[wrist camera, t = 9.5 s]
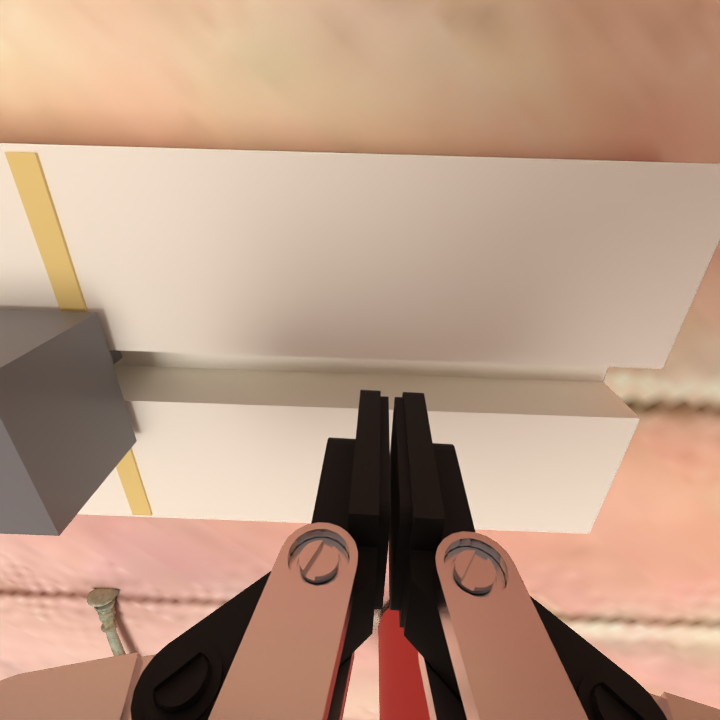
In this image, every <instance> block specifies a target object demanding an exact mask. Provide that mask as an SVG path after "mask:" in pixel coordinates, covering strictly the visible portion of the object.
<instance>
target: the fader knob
mask: <svg viewBox="0 0 720 720" xmlns="http://www.w3.org/2000/svg"><path fill="white" fill-rule="evenodd" d="M121 358H123V357H122V354H121V351H116V350H109V349H108V346H107V343H106V339H105V336H104V333H103V330H102V326H101V323H100V320H99V317H98V313H97V312H69V311H38V310H8V309H0V533H3V534H29V535H55V536H59V535H60V534H61V533H62V532H63V530H64V529H65V528H66V527H67V526H68V524H69V523H70V522H71V521H72V519H73V518H74V517H75V516H76V515H77V513H78V512H79V511H80V510H81V508H82V507H83V506H84V505H85V504H86V502H87V501H88V500H89V499H90V498H91V496H92V495H93V494H94V493H95V491H96V490H97V489H98V488H99V487H100V485H101V484H102V483H103V482H104V480H105V479H106V478H107V477H108V476H109V474H110V473H111V472H112V471H113V469H114V468H115V467H116V466H117V465H118V463H119V462H120V461H121V460H122V459H123V457H124V456H125V455H126V454H127V452H128V451H129V450H130V449H131V448H132V446H133V445H134V444H135V443H136V441H137V440H136V437H135V434H134V430H133V427H132V424H131V421H130V417H129V414H128V411H127V408H126V404H125V401H124V398H123V395H122V391H121V388H120V385H119V382H118V378H117V375H116V372H115V369H114V364H115V363H116V362H118V361H119V360H120V359H121Z"/></svg>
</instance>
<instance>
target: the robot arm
mask: <svg viewBox="0 0 720 720" xmlns="http://www.w3.org/2000/svg"><path fill="white" fill-rule="evenodd" d="M388 542H389V597H390V610H397V611H399V627H402V628H404V636H405V637H406V638H407V640H408V641H409V642H410V643H411V644H412V645H413V646H414V647H415V649H416V650H417V651H418V657H419V665H420V670H421V675H422V680H423V686H424V691H425V696H426V701H427V706H428V711H429V716H430V720H720V710H719V709H716V708H713V707H710V706H707V705H704V704H700V703H697V702H694V701H691V700H688V699H685V698H682V697H679V696H676V695H673V694H669V693H666V692H664V693H663V694H662V695H661V696H660V697H659V696H656V695H653V694H650V693H648V692H647V691H646V690H645V689H644V688H643V687H642V686H641V685H640V684H639V683H638V682H637V681H636V680H635V679H633V678H632V677H631V676H630V675H628V674H627V673H626V672H625V671H623V670H622V669H621V668H620V667H618V666H617V665H616V664H615V663H613V662H612V661H611V660H610V659H608V658H607V657H606V656H605V655H603V654H602V653H601V652H600V651H598V650H597V649H596V648H595V647H593V646H592V645H591V644H590V643H588V642H587V641H586V640H585V639H583V638H582V637H581V636H580V635H578V634H577V633H576V632H575V631H573V630H572V629H571V628H570V627H568V626H567V625H566V624H565V623H563V622H562V621H561V620H560V619H558V618H557V617H556V616H555V615H553V614H552V613H551V612H550V611H548V610H547V609H546V608H545V607H543V606H542V605H541V604H540V603H538V602H537V601H536V600H535V599H533V598H532V597H531V596H530V595H529V593H528V591H527V589H526V587H525V585H524V583H523V581H522V579H521V577H520V574H519V572H518V570H517V568H516V566H515V564H514V562H513V561H512V559H511V557H510V556H509V554H508V553H507V552H506V551H505V550H504V549H503V548H502V547H501V546H500V545H499V544H498V543H497V542H495V541H493V540H492V539H490V538H488V537H487V536H484V535H481V534H478V533H475V529H474V524H473V520H472V516H471V512H470V508H469V504H468V500H467V495H466V491H465V487H464V483H463V479H462V475H461V471H460V466H459V462H458V458H457V454H456V450H455V447H454V445H453V444H439V443H432V437H431V431H430V425H429V419H428V413H427V407H426V401H425V395H424V393H414V392H403V395H402V397H395V399H394V411H393V423H392V435H391V447H390V442H389V397H386V396H381V391H375V390H360V399H359V410H358V420H357V430H356V439H349V438H331V437H329V438H328V440H327V445H326V450H325V455H324V460H323V465H322V471H321V476H320V481H319V486H318V491H317V496H316V502H315V507H314V512H313V517H312V522H311V524H308V525H305V526H303V527H301V528H299V529H297V530H296V531H295V532H294V533H292V534H291V535H290V536H289V537H288V538H287V540H286V541H285V543H284V545H283V546H282V548H281V550H280V552H279V555H278V557H277V559H276V562H275V564H274V566H273V569H272V571H270V572H269V573H268V574H266V575H265V576H263V577H262V578H261V579H259V580H258V581H256V582H255V583H254V584H252V585H251V586H249V587H248V588H246V589H245V590H244V591H242V592H241V593H239V594H238V595H237V596H235V597H234V598H232V599H231V600H230V601H228V602H227V603H225V604H224V605H223V606H221V607H220V608H218V609H217V610H215V611H214V612H213V613H211V614H210V615H208V616H207V617H206V618H204V619H203V620H201V621H200V622H199V623H197V624H196V625H194V626H193V627H192V628H190V629H189V630H187V631H186V632H184V633H183V634H182V635H180V636H179V637H177V638H176V639H175V640H173V641H172V642H170V643H169V644H168V645H166V646H165V647H164V648H163V649H162V650H161V651H160V652H159V653H157V654H155V655H150V656H144V657H140V655H139V653H138V652H135V653H130V654H125V655H119V656H114V657H109V658H103V659H98V660H92V661H87V662H82V663H76V664H71V665H66V666H60V667H55V668H49V669H44V670H39V671H33V672H28V673H22V674H18V675H15V676H12V677H9V678H7V679H4V680H1V681H0V720H342V717H343V712H344V707H345V702H346V696H347V691H348V686H349V681H350V675H351V670H352V665H353V660H354V651H355V650H356V649H357V648H358V647H359V646H360V645H361V644H362V643H363V642H364V641H365V640H366V639H367V638H368V637H369V636H370V635H371V634H372V630H373V617H374V609H382V607H383V596H384V585H385V574H386V564H387V553H388Z"/></svg>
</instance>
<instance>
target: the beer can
mask: <svg viewBox="0 0 720 720" xmlns="http://www.w3.org/2000/svg"><path fill="white" fill-rule="evenodd" d="M378 636H379V702H380V720H430V716H429V711H428V706H427V701H426V696H425V691H424V686H423V680H422V675H421V670H420V665H419V657H418V651H417V650H416V649H415V647H414V646H413V645H412V644H411V643H410V642H409V641H408V640H407V638H406V637H405V636H404V628H402V627H399V611H397V610H390V607H389V608H388V609H387V610H386V611H385V612H384V613H383V615H382V618H381V620H380V623H379V625H378Z"/></svg>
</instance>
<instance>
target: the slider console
mask: <svg viewBox="0 0 720 720" xmlns="http://www.w3.org/2000/svg"><path fill="white" fill-rule="evenodd" d="M719 241H720V164H713V163H678V162H643V161H608V160H573V159H538V158H503V157H468V156H433V155H398V154H363V153H328V152H293V151H258V150H223V149H188V148H154V147H119V146H84V145H49V144H14V143H0V309H8V310H38V311H69V312H97V313H98V317H99V320H100V323H101V326H102V330H103V333H104V336H105V339H106V343H107V346H108V349H109V350H116V351H121V354H122V357H123V358H121V359H120V360H119V361H118V362H116V363H115V364H114V369H115V372H116V375H117V378H118V382H119V385H120V388H121V391H122V395H123V398H124V401H125V404H126V408H127V411H128V414H129V417H130V421H131V424H132V427H133V430H134V434H135V437H136V440H137V441H136V443H135V444H134V445H133V446H132V448H131V449H130V450H129V451H128V452H127V454H126V455H125V456H124V457H123V459H122V460H121V461H120V462H119V463H118V465H117V466H116V467H115V468H114V469H113V471H112V472H111V473H110V474H109V476H108V477H107V478H106V479H105V480H104V482H103V483H102V484H101V485H100V487H99V488H98V489H97V490H96V491H95V493H94V494H93V495H92V496H91V498H90V499H89V500H88V501H87V502H86V504H85V505H84V506H83V507H82V508H81V510H80V511H79V512H78V513H77V514H86V515H112V516H138V517H165V518H191V519H217V520H244V521H270V522H296V523H311V522H312V517H313V512H314V507H315V502H316V496H317V491H318V486H319V481H320V476H321V471H322V465H323V460H324V455H325V450H326V445H327V440H328V438H329V437H331V438H349V439H356V430H357V420H358V410H359V399H360V390H375V391H381V396H386V397H389V442H390V447H391V435H392V423H393V411H394V399H395V397H402V395H403V392H414V393H424V395H425V401H426V407H427V413H428V419H429V425H430V431H431V437H432V443H439V444H453V445H454V447H455V450H456V454H457V458H458V462H459V466H460V471H461V475H462V479H463V483H464V487H465V491H466V495H467V500H468V504H469V508H470V512H471V516H472V520H473V524H474V529H480V530H506V531H533V532H559V533H585V534H589V533H590V531H591V529H592V526H593V524H594V522H595V520H596V517H597V515H598V513H599V511H600V508H601V506H602V504H603V502H604V499H605V497H606V495H607V493H608V490H609V488H610V486H611V484H612V481H613V479H614V477H615V475H616V472H617V470H618V468H619V466H620V463H621V461H622V459H623V457H624V454H625V452H626V450H627V448H628V445H629V443H630V441H631V439H632V436H633V434H634V432H635V430H636V427H637V425H638V423H639V421H640V418H639V417H638V416H637V415H636V414H635V413H634V412H633V411H632V410H631V409H630V408H629V407H628V406H627V405H626V404H625V403H624V402H623V401H622V400H621V399H620V398H619V397H618V396H617V395H616V394H615V393H614V392H613V391H612V390H611V389H610V388H609V387H608V386H607V385H605V384H604V383H603V380H604V378H605V375H606V372H607V370H608V367H619V368H649V369H663V367H664V364H665V362H666V360H667V358H668V355H669V353H670V351H671V349H672V346H673V344H674V342H675V340H676V337H677V335H678V333H679V331H680V328H681V326H682V324H683V322H684V319H685V317H686V315H687V313H688V310H689V308H690V306H691V304H692V301H693V299H694V297H695V295H696V292H697V290H698V288H699V286H700V283H701V281H702V279H703V277H704V274H705V272H706V270H707V268H708V265H709V263H710V261H711V259H712V256H713V254H714V252H715V250H716V247H717V245H718V243H719Z"/></svg>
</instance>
